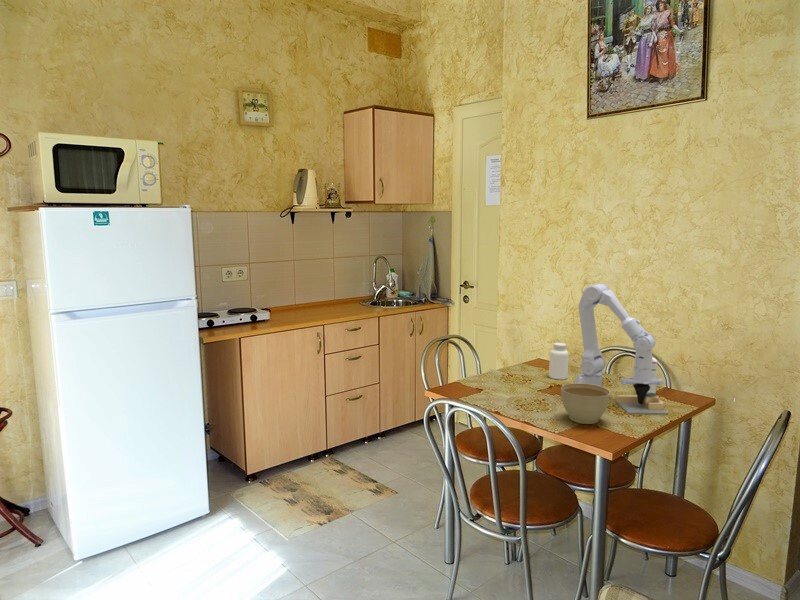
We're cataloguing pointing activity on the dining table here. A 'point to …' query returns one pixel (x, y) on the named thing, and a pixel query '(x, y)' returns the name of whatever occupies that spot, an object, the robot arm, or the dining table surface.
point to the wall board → (639, 405)
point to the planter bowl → (585, 402)
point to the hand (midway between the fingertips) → (640, 403)
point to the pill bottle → (558, 362)
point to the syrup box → (653, 375)
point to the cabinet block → (650, 399)
